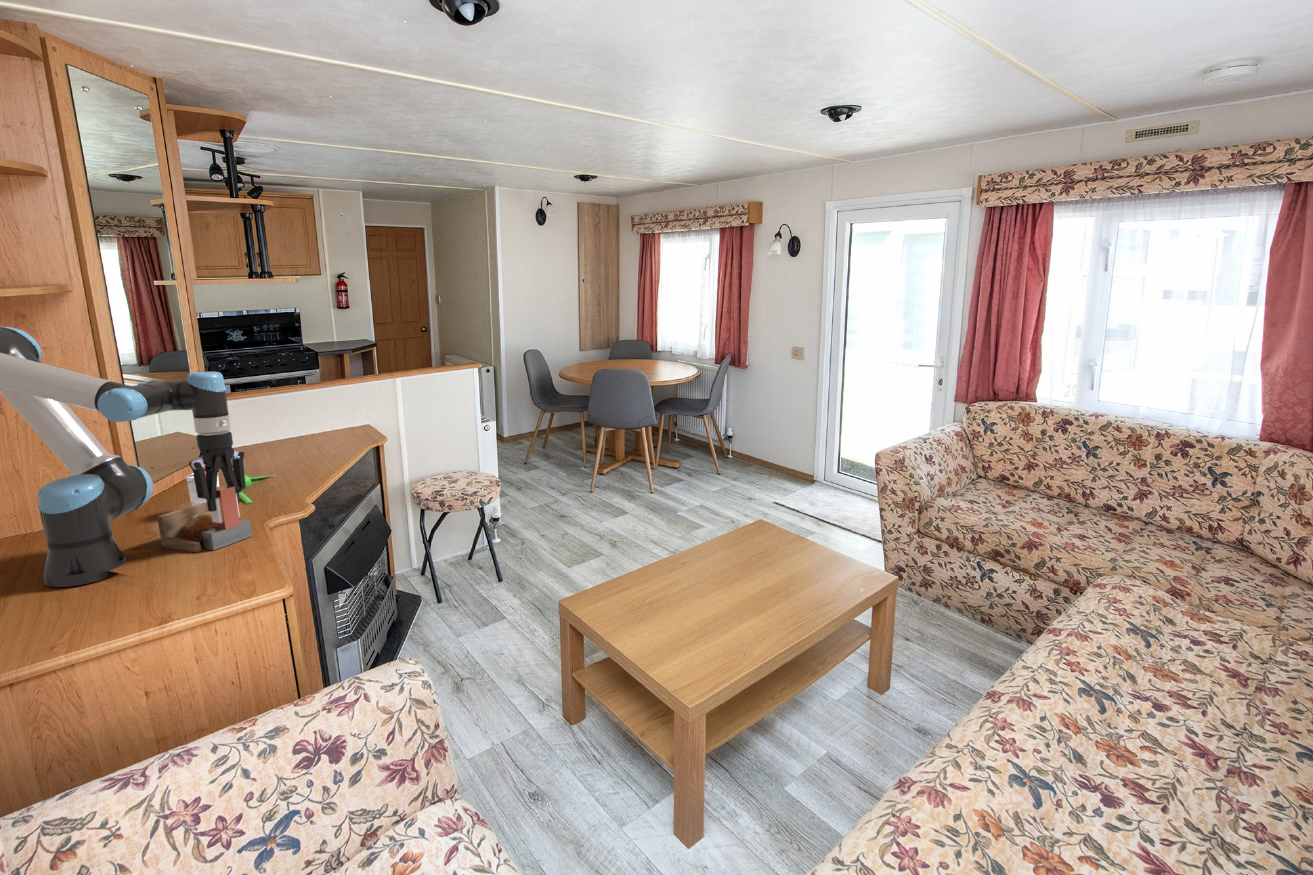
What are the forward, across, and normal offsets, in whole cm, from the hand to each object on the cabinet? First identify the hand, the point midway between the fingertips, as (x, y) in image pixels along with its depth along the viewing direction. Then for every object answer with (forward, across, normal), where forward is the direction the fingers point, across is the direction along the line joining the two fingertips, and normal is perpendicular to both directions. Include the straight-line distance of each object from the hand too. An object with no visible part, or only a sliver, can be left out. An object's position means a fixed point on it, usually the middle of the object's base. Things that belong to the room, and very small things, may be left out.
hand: (226, 519), depth 168 cm
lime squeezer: (+7, +37, +39) cm, 54 cm away
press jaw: (+7, 0, 0) cm, 7 cm away
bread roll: (+7, 0, +7) cm, 10 cm away
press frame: (+7, 0, +8) cm, 10 cm away
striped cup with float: (+7, +17, +31) cm, 36 cm away
